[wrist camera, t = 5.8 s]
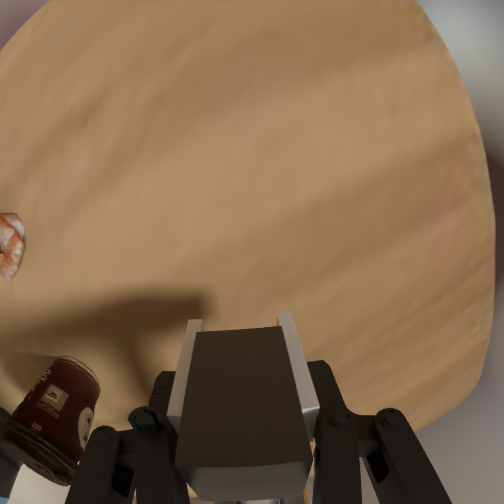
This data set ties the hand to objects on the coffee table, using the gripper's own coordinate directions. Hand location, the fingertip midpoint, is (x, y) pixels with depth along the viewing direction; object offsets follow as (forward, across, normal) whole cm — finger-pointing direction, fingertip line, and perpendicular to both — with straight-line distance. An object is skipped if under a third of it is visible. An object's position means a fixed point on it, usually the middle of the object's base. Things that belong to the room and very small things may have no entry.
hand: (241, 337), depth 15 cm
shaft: (-2, 0, -9) cm, 9 cm away
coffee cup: (+6, -19, -10) cm, 22 cm away
